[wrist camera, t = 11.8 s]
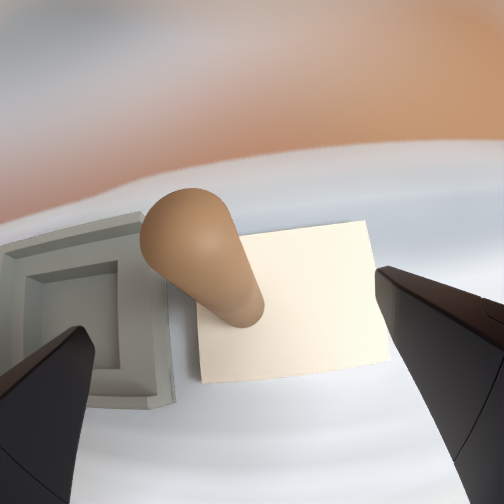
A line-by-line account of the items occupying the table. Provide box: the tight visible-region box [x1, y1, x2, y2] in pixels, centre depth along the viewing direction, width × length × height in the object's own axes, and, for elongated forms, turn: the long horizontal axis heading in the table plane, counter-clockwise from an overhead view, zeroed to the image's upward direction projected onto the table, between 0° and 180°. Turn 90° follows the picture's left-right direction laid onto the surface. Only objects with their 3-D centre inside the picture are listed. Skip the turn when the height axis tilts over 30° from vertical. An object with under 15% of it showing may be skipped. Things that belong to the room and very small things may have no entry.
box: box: [0, 211, 176, 410], centre depth 17 cm, size 12×10×4 cm
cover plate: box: [139, 188, 391, 384], centre depth 13 cm, size 10×8×11 cm
